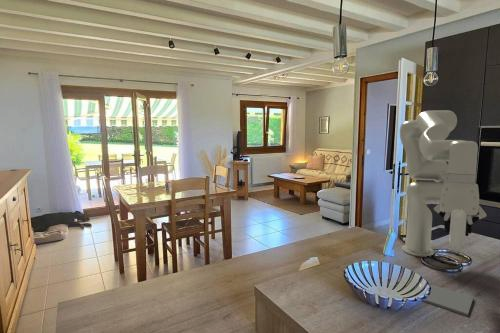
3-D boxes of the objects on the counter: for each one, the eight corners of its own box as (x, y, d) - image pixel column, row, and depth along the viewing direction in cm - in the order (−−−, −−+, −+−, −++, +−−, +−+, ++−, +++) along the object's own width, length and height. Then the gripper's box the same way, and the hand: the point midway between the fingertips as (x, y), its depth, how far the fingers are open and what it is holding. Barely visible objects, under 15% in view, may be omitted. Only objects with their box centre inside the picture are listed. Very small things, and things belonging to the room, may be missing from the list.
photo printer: (449, 237, 105) (452, 202, 104) (464, 239, 103) (467, 204, 102) (448, 245, 97) (450, 207, 96) (464, 248, 95) (467, 209, 94)
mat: (430, 286, 104) (430, 284, 104) (473, 299, 96) (473, 297, 96) (421, 300, 95) (421, 298, 95) (467, 316, 87) (467, 313, 87)
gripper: (429, 177, 101) (426, 230, 102) (493, 182, 90) (489, 242, 91) (433, 175, 106) (430, 226, 108) (495, 180, 95) (490, 236, 97)
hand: (457, 232), depth 100 cm, fingers closed on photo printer, 4 cm apart
